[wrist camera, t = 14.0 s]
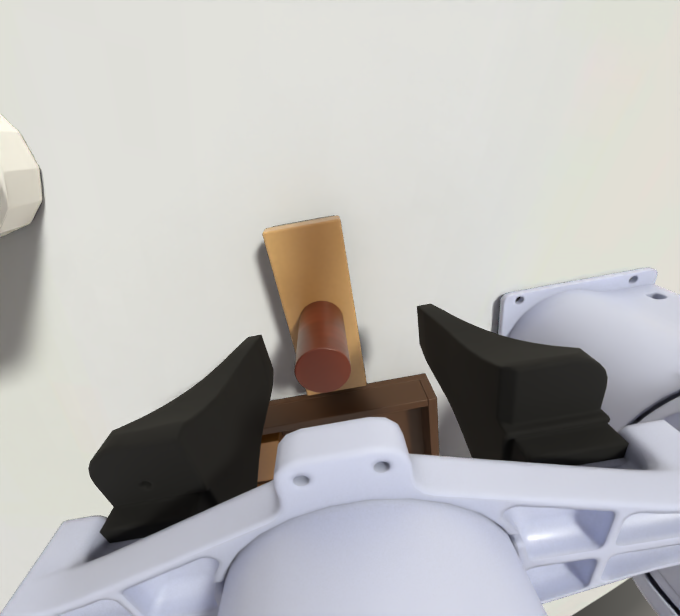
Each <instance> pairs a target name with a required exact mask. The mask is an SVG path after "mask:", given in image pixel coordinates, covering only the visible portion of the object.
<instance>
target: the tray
mask: <svg viewBox="0 0 680 616" xmlns="http://www.w3.org/2000/svg"><path fill="white" fill-rule="evenodd" d="M365 417H385V418H387V419H389V420H391V421H393V422H395V423H397V424H398V425H399V427H400V429H401V431H402V433H403V435H404V439H405V442H406V446H407V449H408V452H409V454H422V455H435V456H439V437H438V410H437V397H436V395H435V393H434V391H433V389H432V386H431V384H430V382H429V380H428V379H427V376H426V374H419V375H414V376H408V377H403V378H397V379H391V380H386V381H380V382H374V383H369V384H367V385H366V386H361V387H355V388H350V389H344V390H338V391H332V392H327V393H321V394H315V395H309V396H308V395H301V396H295V397H290V398H284V399H278V400H273V401H269V406H268V410H267V415H266V419H265V424H264V428H263V433H262V435H266V434H271V433H277V432H282V435H283V438H284V436H285V435H286V434H289V433H291V432H294V431H296V430H299V429H302V428H308V427H313V426H319V425H325V424H331V423H336V422H342V421H348V420H354V419H359V418H365ZM273 480H274V479H273ZM270 481H272V480H267V481H261V482H257V484H263V483H267V482H270Z"/></svg>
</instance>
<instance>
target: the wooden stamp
mask: <svg viewBox="0 0 680 616" xmlns="http://www.w3.org/2000/svg"><path fill="white" fill-rule="evenodd" d="M262 235H263V238H264V242H265V246H266V249H267V253H268V256H269V260H270V263H271V267H272V271H273V274H274V278H275V281H276V285H277V288H278V292H279V296H280V299H281V303H282V306H283V310H284V314H285V317H286V321H287V324H288V328H289V331H290V335H291V339H292V342H293V346H294V349H295V353H296V360H295V376H296V379H297V380H298V382H299V383H300V384H301V385H302V386H303V387H304V388H305V389H306V392H307V395H308V396H309V395H315V394H321V393H327V392H332V391H338V390H344V389H350V388H355V387H361V386H366V385H367V382H366V376H365V369H364V363H363V357H362V351H361V345H360V338H359V332H358V326H357V320H356V314H355V307H354V301H353V295H352V289H351V283H350V276H349V270H348V264H347V258H346V251H345V245H344V239H343V233H342V227H341V220H340V217H339V216H335V215H333V216H327V217H322V218H316V219H311V220H305V221H300V222H294V223H289V224H283V225H278V226H273V227H271V228H266V229H265V230H264V232H263V234H262Z"/></svg>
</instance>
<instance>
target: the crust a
mask: <svg viewBox="0 0 680 616" xmlns="http://www.w3.org/2000/svg"><path fill="white" fill-rule="evenodd" d="M282 439H283V435H282V432H277V433H271V434H266V435H262V439H261V448H260V458H259V469H258V482H261V481H267V480H273V479H274V469H275V462H276V455H277V447H278V444H279V442H280V441H281V440H282Z"/></svg>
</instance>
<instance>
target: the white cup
mask: <svg viewBox="0 0 680 616" xmlns="http://www.w3.org/2000/svg"><path fill="white" fill-rule="evenodd" d="M41 202H42V189H41V179H40V170H39V167H38V165H37V163H36V161H35V159H34V157H33V156H32V154H31V152H30V150H29V148H28V147H27V145H26V143H25V141H24V139H23V137H22V136H21V134H20V132H19V131H18V130H17V129H16V128H14V127H13V126H12V125H11V124H10V123H9V122H8V121H7V120H6V119H5V118H4V117H3V116H2V115H1V114H0V237H2V236H5V235H7V234H9V233H11V232H14V231H16V230H18V229H20V228H22V227H24V226H26V225H28V224H30V223H31V222H32V220H33V218H34V216H35V214H36V212H37V210H38V208H39V206H40V204H41Z"/></svg>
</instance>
